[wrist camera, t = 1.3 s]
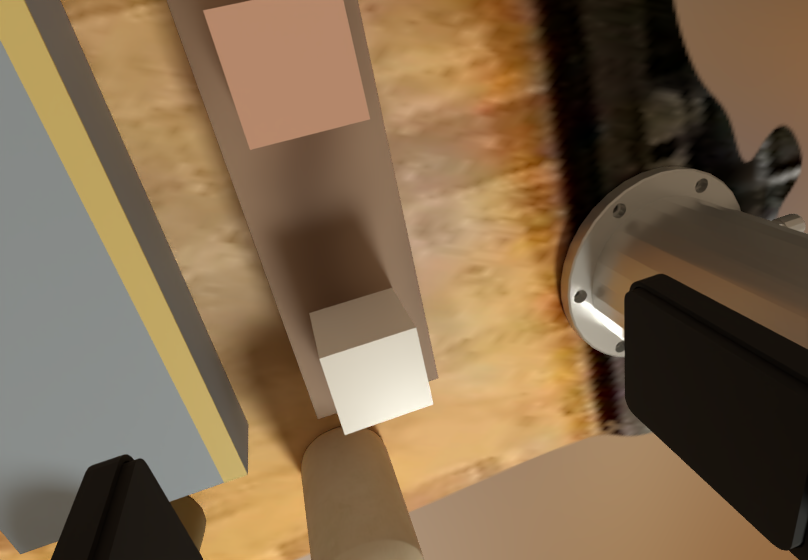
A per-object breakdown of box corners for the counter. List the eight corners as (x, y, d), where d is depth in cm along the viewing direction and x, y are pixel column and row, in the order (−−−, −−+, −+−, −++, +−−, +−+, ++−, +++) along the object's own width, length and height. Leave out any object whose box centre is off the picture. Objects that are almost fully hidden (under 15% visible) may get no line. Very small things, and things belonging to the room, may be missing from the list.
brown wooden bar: (325, -49, 22) (342, -72, 18) (414, 336, 31) (438, 378, 27) (172, -18, 21) (153, -36, 17) (309, 370, 30) (318, 419, 26)
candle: (379, 413, 32) (427, 550, 23) (391, 477, 34) (440, 623, 25) (291, 439, 31) (306, 592, 22) (310, 503, 33) (331, 664, 24)
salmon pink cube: (323, -4, 19) (339, -19, 15) (349, 108, 20) (370, 119, 17) (212, 19, 18) (202, 10, 14) (250, 133, 20) (249, 149, 16)
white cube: (392, 287, 24) (416, 327, 20) (408, 356, 26) (433, 404, 22) (309, 313, 23) (319, 358, 20) (331, 381, 25) (344, 435, 22)
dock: (34, -57, 19) (-16, -83, 16) (248, 424, 30) (247, 474, 26) (-305, 4, 17) (-450, -9, 14) (49, 491, 28) (19, 555, 24)
